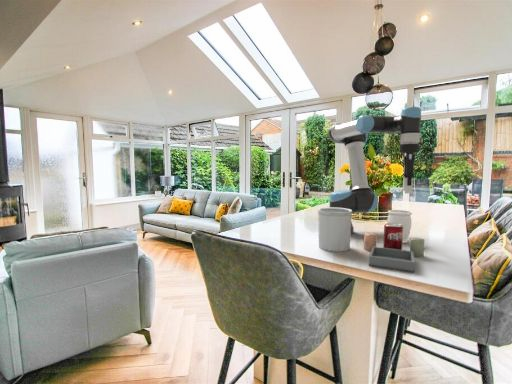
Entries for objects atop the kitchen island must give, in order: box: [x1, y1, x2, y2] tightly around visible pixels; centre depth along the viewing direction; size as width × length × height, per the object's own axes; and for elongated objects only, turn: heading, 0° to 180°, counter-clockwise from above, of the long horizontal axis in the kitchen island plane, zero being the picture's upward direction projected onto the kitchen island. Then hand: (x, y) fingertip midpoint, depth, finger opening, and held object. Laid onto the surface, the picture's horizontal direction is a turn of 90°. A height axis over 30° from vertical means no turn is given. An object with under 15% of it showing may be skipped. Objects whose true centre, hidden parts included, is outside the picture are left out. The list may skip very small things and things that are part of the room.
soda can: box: [382, 223, 404, 250], centre depth 118 cm, size 7×7×12 cm
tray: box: [368, 246, 415, 274], centre depth 105 cm, size 15×15×4 cm
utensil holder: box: [317, 206, 353, 253], centre depth 126 cm, size 15×15×18 cm
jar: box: [386, 209, 413, 244], centre depth 137 cm, size 11×10×15 cm
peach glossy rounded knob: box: [363, 232, 378, 252], centre depth 123 cm, size 5×5×7 cm
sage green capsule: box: [409, 237, 426, 259], centre depth 114 cm, size 5×5×7 cm
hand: (407, 192), depth 123 cm, fingers open, 13 cm apart
